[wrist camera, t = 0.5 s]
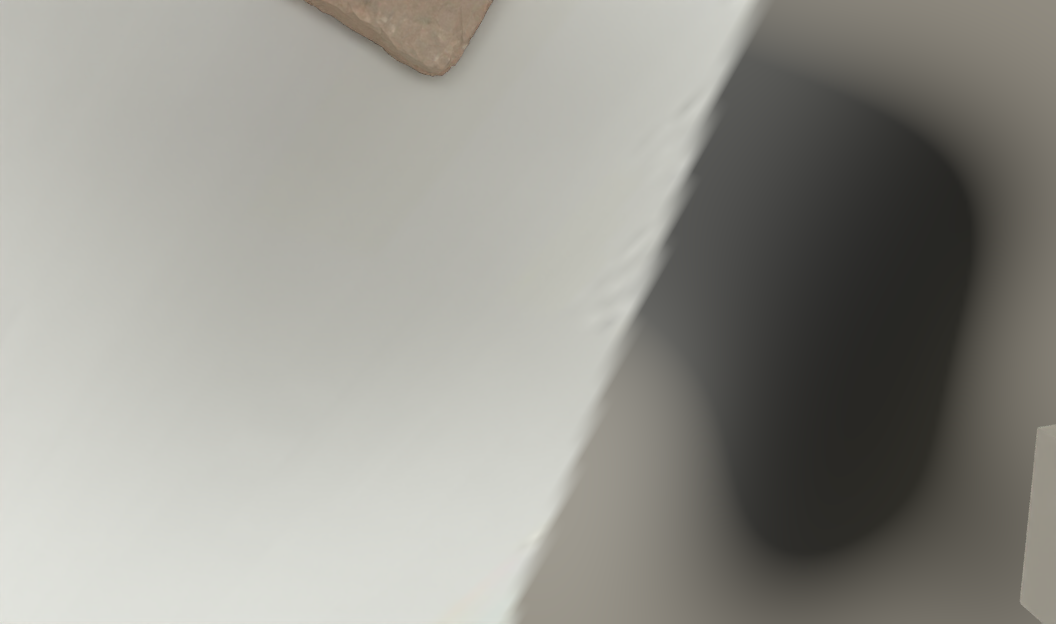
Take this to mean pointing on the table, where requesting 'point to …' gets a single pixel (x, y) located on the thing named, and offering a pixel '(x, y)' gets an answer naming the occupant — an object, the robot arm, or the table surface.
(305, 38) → the table surface
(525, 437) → the table surface
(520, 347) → the table surface
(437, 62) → the brick
